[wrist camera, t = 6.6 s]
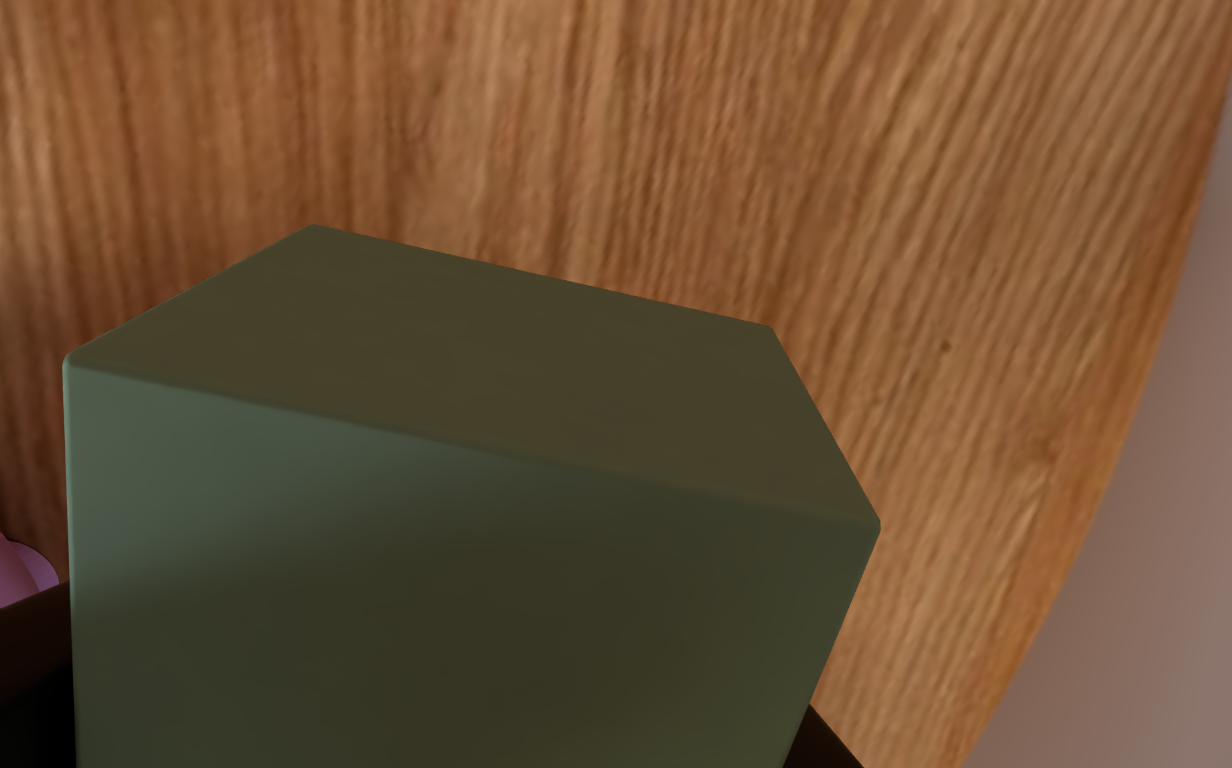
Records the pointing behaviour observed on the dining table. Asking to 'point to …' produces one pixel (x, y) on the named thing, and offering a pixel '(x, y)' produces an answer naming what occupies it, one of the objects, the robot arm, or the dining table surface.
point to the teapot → (22, 572)
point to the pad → (446, 523)
